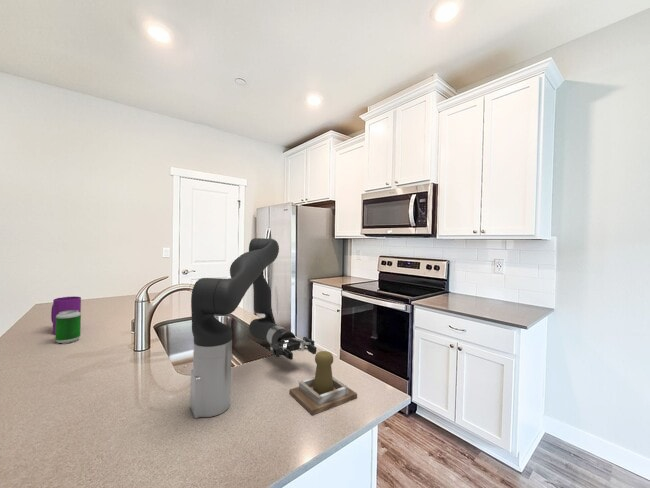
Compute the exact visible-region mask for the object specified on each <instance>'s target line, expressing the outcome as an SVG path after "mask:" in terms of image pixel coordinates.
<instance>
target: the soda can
mask: <svg viewBox="0 0 650 488" xmlns="http://www.w3.org/2000/svg"><path fill="white" fill-rule="evenodd" d="M81 316H82V313H80V312H78V311H77V310H69V311H63V312H59V314H58V315H56V334H55V342H56V343H58V344H59V343H67V344H71V343H70V342H72V343H74V342H73V341H75V342H77V341H79V339H80V338H81V325H82V324H81V321H82V317H81ZM76 340H77V341H76Z"/></svg>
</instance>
